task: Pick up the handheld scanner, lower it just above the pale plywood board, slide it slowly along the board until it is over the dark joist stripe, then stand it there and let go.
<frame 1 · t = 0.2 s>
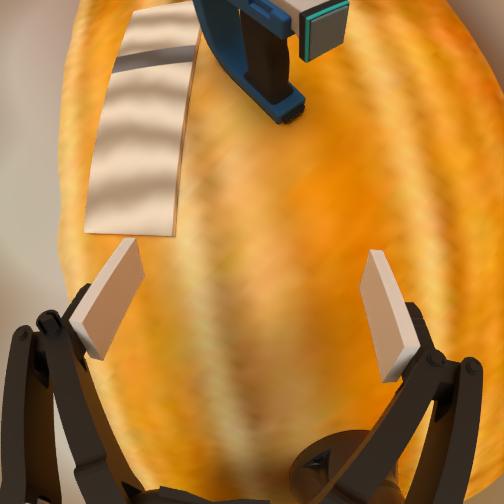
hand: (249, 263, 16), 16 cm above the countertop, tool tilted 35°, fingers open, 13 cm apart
handheld scanner: (262, 86, 33), on the countertop
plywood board: (146, 97, 33), on the countertop
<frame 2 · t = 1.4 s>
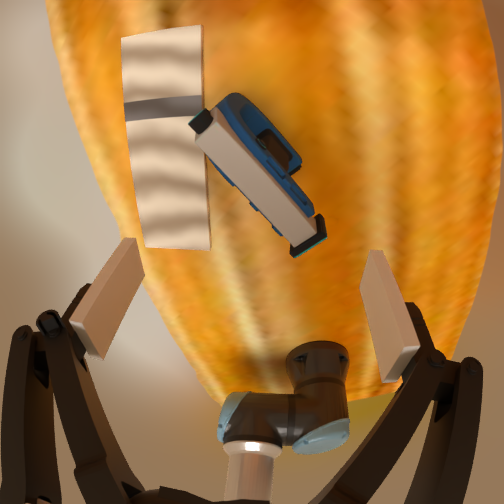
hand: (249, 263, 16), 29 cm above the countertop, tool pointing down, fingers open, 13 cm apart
handheld scanner: (267, 137, 41), on the countertop
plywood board: (166, 144, 42), on the countertop
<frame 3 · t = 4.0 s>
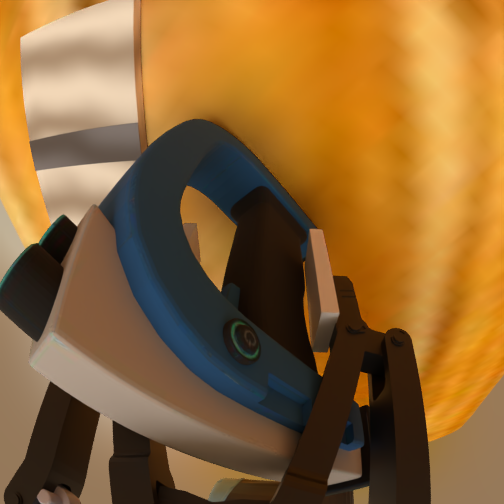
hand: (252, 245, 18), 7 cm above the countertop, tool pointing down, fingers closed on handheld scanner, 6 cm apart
handheld scanner: (260, 195, 24), on the countertop, touching gripper
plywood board: (98, 205, 25), on the countertop
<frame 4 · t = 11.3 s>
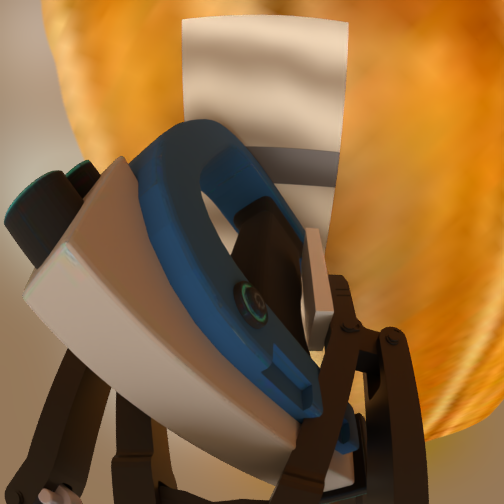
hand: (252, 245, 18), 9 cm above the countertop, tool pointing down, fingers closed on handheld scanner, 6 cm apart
handheld scanner: (263, 208, 24), point 2 cm above the countertop, touching gripper, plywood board
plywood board: (260, 223, 27), on the countertop
when the fingers open (9 cm above the countertop, at t = 13.6 s): handheld scanner stays where it is, resting on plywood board.
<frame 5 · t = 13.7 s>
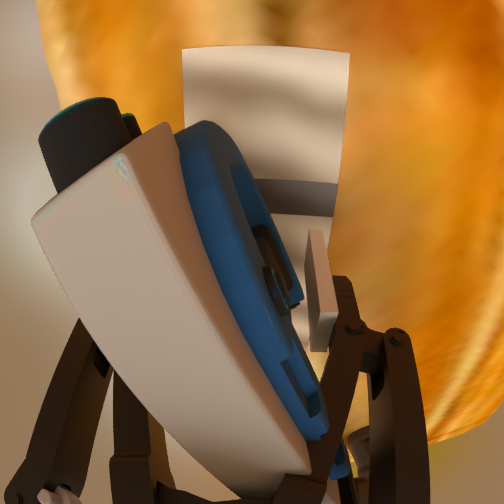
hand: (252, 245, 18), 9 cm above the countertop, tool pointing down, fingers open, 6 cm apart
handheld scanner: (255, 239, 25), point 3 cm above the countertop, touching gripper, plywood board
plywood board: (260, 249, 28), on the countertop
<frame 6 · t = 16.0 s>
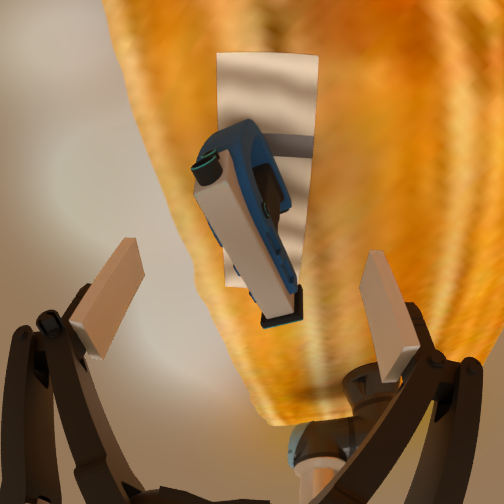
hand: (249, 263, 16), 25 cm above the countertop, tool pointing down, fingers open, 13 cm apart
handheld scanner: (263, 168, 38), point 1 cm above the countertop, touching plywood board
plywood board: (264, 184, 40), on the countertop
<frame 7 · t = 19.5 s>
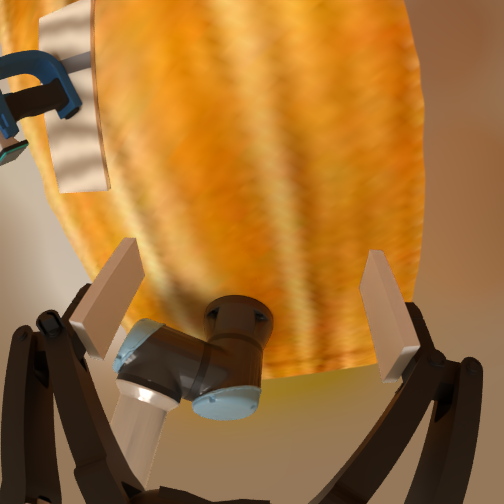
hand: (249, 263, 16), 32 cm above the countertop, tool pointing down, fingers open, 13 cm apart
handheld scanner: (64, 85, 37), point 1 cm above the countertop, touching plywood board
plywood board: (70, 98, 39), on the countertop
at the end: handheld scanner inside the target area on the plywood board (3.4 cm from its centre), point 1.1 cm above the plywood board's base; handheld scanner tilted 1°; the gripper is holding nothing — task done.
